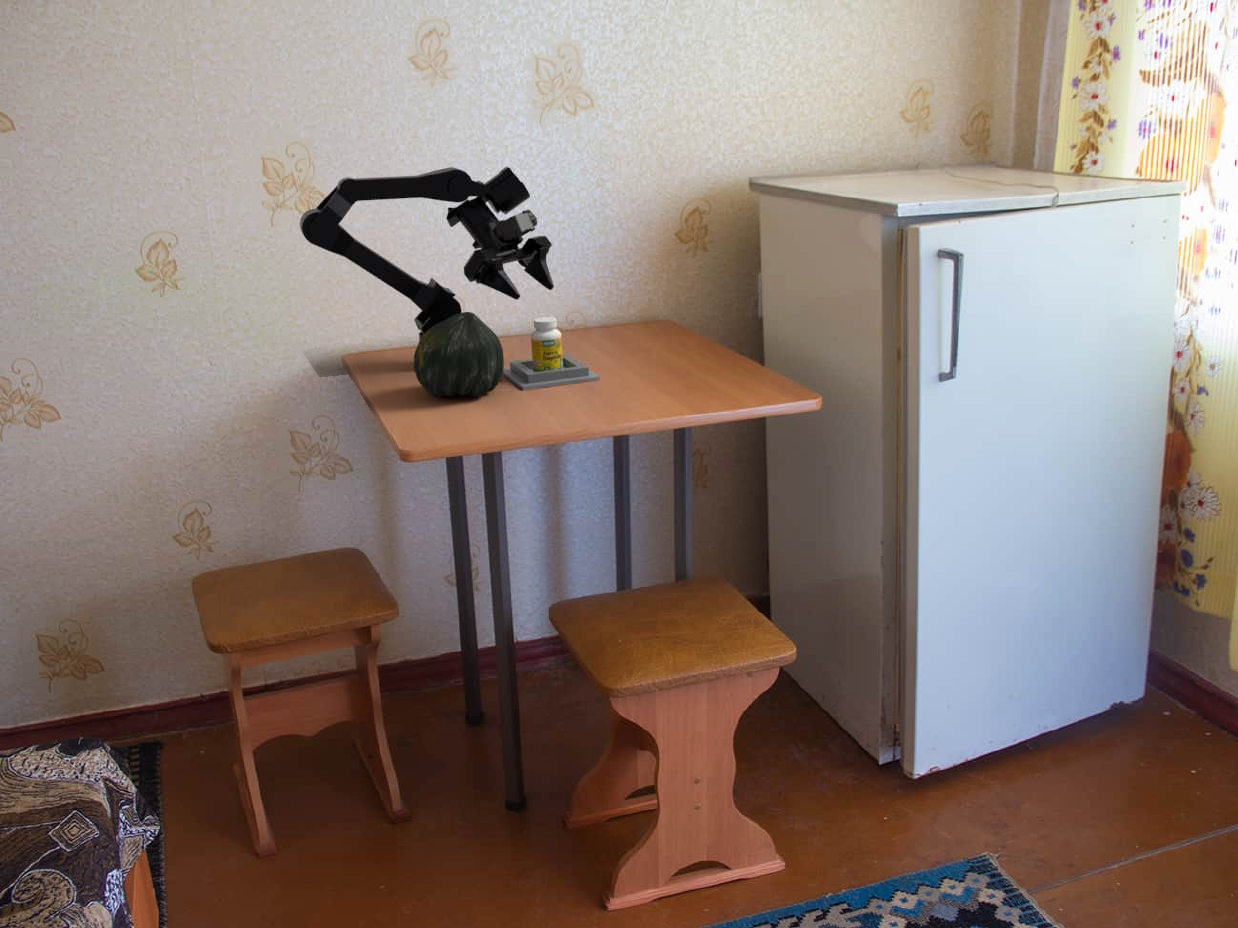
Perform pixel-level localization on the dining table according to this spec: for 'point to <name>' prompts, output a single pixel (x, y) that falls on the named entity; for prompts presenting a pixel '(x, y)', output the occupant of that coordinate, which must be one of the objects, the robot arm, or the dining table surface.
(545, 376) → the tray
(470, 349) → the squash
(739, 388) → the dining table surface
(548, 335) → the supplement bottle
